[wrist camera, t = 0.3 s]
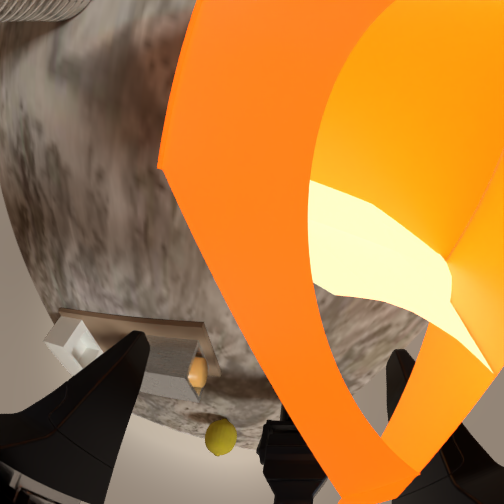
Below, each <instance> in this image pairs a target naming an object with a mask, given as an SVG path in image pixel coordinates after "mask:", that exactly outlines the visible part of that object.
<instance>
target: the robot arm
mask: <svg viewBox="0 0 504 504" xmlns="http://www.w3.org/2000/svg"><path fill="white" fill-rule="evenodd" d="M149 353H150V344H149V342H148V340H147V337H146V335H145V333H144V332H143V331H138V330H133V331H132V332H130V333H129V334H128V335H126V336H125V337H124V338H122V339H121V340H120V341H118V342H117V343H116V344H115V345H113V346H112V347H111V348H109V349H108V350H107V351H105V352H104V353H103V354H101V355H100V356H99V357H98V358H96V359H95V360H94V361H92V362H91V363H90V364H88V365H87V366H86V367H85V368H83V369H82V370H81V371H79V372H78V373H77V374H76V375H74V376H73V377H72V378H71V379H69V380H68V381H66V382H65V383H64V384H63V385H61V386H60V387H59V388H57V389H56V390H55V391H53V392H52V393H50V394H49V395H47V396H46V397H44V398H43V399H41V400H40V401H38V402H36V403H35V404H33V405H32V406H30V407H28V408H27V409H25V410H23V411H21V412H18V413H14V414H0V504H80V502H81V501H84V502H87V503H90V504H104V501H105V497H106V493H107V490H108V486H109V483H110V479H111V476H112V472H113V468H114V465H115V462H116V459H117V455H118V452H119V449H120V446H121V443H122V440H123V437H124V434H125V431H126V428H127V425H128V422H129V419H130V416H131V413H132V410H133V407H134V405H135V402H136V399H137V396H138V393H139V391H140V388H141V385H142V381H143V377H144V373H145V369H146V365H147V361H148V357H149ZM415 363H416V362H415V361H414V359H413V358H412V357H411V356H410V355H409V353H408V352H407V351H406V350H405V349H395V350H394V351H393V352H392V354H391V356H390V358H389V360H388V362H387V365H386V381H387V413H388V421H390V419H391V417H392V415H393V413H394V411H395V409H396V407H397V405H398V403H399V401H400V399H401V397H402V394H403V392H404V390H405V388H406V385H407V383H408V380H409V378H410V376H411V373H412V371H413V368H414V366H415ZM256 453H257V454H258V455H259V457H260V463H261V464H262V465H264V467H263V474H264V476H265V478H266V480H267V482H268V483H269V485H270V487H271V489H272V491H273V493H274V495H275V498H274V504H313V498H314V497H315V496H316V494H317V493H318V492H319V491H320V489H321V488H322V487H323V485H324V484H325V482H326V481H327V479H328V476H327V475H326V473H325V472H324V470H323V469H322V467H321V466H320V464H319V462H318V461H317V459H316V458H315V456H314V455H313V453H312V451H311V450H310V448H309V447H308V445H307V443H306V442H305V440H304V439H303V437H302V435H301V434H300V432H299V430H298V429H297V427H296V426H295V424H294V422H293V421H292V419H291V417H290V416H289V414H288V412H287V411H286V409H285V407H284V405H283V404H282V405H281V415H280V421H272V420H267V422H266V424H265V425H264V426H263V433H262V437H261V440H260V442H259V445H258V447H257V451H256ZM392 504H504V467H503V466H501V465H499V464H497V463H496V462H495V461H494V460H493V459H492V458H491V457H490V456H489V454H488V453H487V452H486V451H485V450H484V449H483V448H482V447H481V445H480V444H479V443H478V442H477V441H476V440H475V438H473V436H472V435H471V434H470V433H469V431H468V430H467V429H466V427H465V426H464V425H463V423H462V422H461V423H460V425H459V426H458V427H457V428H456V430H455V431H454V432H453V433H452V434H451V436H450V437H449V438H448V439H447V441H446V442H445V443H444V444H443V445H442V447H441V448H440V449H439V450H438V451H437V453H436V454H435V455H434V456H433V457H432V459H431V460H430V461H429V462H428V463H427V464H426V466H425V467H424V468H423V469H422V470H421V471H420V475H418V476H416V477H415V478H414V479H413V480H412V482H411V483H410V484H409V485H408V486H407V487H406V488H405V489H404V491H403V492H402V493H401V494H400V495H399V496H398V497H397V498H395V499H392Z"/></svg>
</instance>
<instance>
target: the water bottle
mask: <svg viewBox="0 0 504 504" xmlns="http://www.w3.org/2000/svg"><path fill="white" fill-rule="evenodd" d="M90 1H91V0H0V22H16V21H19V22H21V21H42V22H43V21H47V22H57V21H64V20H67V19H70V18H72V17H73V16H75V15H77V14H78V13H79V12H80V11H82V10H83V9H84V8H85V7H86V6H87V4H88V3H89V2H90Z"/></svg>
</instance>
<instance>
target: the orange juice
mask: <svg viewBox="0 0 504 504" xmlns="http://www.w3.org/2000/svg"><path fill="white" fill-rule="evenodd" d="M496 165H497V166H496ZM157 168H158V169H162V170H163V172H164V174H165V176H166V178H167V181H168V183H169V185H170V187H171V189H172V192H173V194H174V196H175V198H176V200H177V203H178V205H179V207H180V209H181V211H182V213H183V215H184V218H185V220H186V222H187V224H188V226H189V228H190V230H191V232H192V234H193V237H194V239H195V241H196V243H197V245H198V247H199V249H200V251H201V253H202V255H203V257H204V259H205V261H206V263H207V265H208V267H209V269H210V271H211V273H212V275H213V277H214V279H215V281H216V283H217V285H218V287H219V289H220V291H221V293H222V295H223V297H224V299H225V301H226V302H227V304H228V306H229V308H230V310H231V312H232V314H233V316H234V318H235V320H236V322H237V323H238V325H239V327H240V329H241V331H242V333H243V335H244V336H245V338H246V340H247V342H248V344H249V346H250V347H251V349H252V351H253V353H254V355H255V357H256V358H257V360H258V362H259V364H260V365H261V367H262V369H263V371H264V373H265V374H266V376H267V378H268V380H269V381H270V383H271V385H272V387H273V388H274V390H275V392H276V394H277V395H278V397H279V399H280V400H281V402H282V404H283V405H284V407H285V409H286V411H287V412H288V414H289V416H290V417H291V419H292V421H293V422H294V424H295V426H296V427H297V429H298V430H299V432H300V434H301V435H302V437H303V439H304V440H305V442H306V443H307V445H308V447H309V448H310V450H311V451H312V453H313V455H314V456H315V458H316V459H317V461H318V462H319V464H320V466H321V467H322V469H323V470H324V472H325V473H326V475H327V476H328V478H329V479H330V481H331V482H332V484H333V485H334V487H335V488H336V490H337V491H338V492H339V494H340V496H341V497H342V499H341V500H340V501H339V503H338V504H376V503H380V502H384V501H388V500H392V499H395V498H397V497H398V496H399V495H400V494H401V493H402V492H403V491H404V489H405V488H406V487H407V486H408V485H409V484H410V483H411V482H412V480H413V479H414V478H415V477H416V476H418V475H420V471H421V470H422V469H423V468H424V467H425V466H426V464H427V463H428V462H429V461H430V460H431V459H432V457H433V456H434V455H435V454H436V453H437V451H438V450H439V449H440V448H441V447H442V445H443V444H444V443H445V442H446V441H447V439H448V438H449V437H450V436H451V434H452V433H453V432H454V431H455V430H456V428H457V427H458V426H459V425H460V423H461V422H462V421H463V419H464V418H465V417H466V416H467V414H468V413H469V411H471V409H472V408H473V406H474V405H475V404H476V403H477V401H478V400H479V399H480V397H481V396H482V395H483V393H484V392H485V391H486V389H487V388H488V387H489V385H490V384H491V382H492V381H493V380H494V379H495V377H496V376H497V374H498V373H499V371H500V370H501V369H502V367H503V366H504V0H197V1H196V4H195V7H194V10H193V13H192V16H191V19H190V22H189V25H188V29H187V32H186V35H185V39H184V42H183V46H182V49H181V53H180V56H179V60H178V64H177V68H176V72H175V76H174V80H173V84H172V89H171V93H170V98H169V102H168V107H167V112H166V117H165V122H164V128H163V133H162V139H161V145H160V151H159V158H158V164H157ZM493 172H494V173H493ZM488 183H489V184H488ZM473 213H474V214H473ZM460 236H461V237H460ZM457 241H458V242H457ZM454 246H455V247H454ZM313 283H315V284H317V285H318V286H320V287H322V288H323V289H325V290H327V291H329V292H330V293H332V294H334V295H342V296H352V297H360V298H367V299H374V300H380V301H384V302H387V303H390V304H393V305H396V306H399V307H402V308H404V309H407V310H409V311H412V312H414V313H416V314H417V315H419V316H421V317H423V318H424V319H426V320H428V321H429V325H428V328H427V332H426V335H425V338H424V341H423V344H422V347H421V349H420V352H419V355H418V358H417V360H416V363H415V366H414V368H413V371H412V373H411V376H410V378H409V380H408V383H407V385H406V388H405V390H404V392H403V394H402V397H401V399H400V401H399V403H398V405H397V407H396V409H395V411H394V413H393V415H392V417H391V419H390V421H389V423H388V426H387V427H386V429H385V431H384V433H383V435H382V436H381V438H380V437H379V436H378V434H377V433H376V432H375V431H374V429H373V428H372V427H371V425H370V424H369V423H368V421H367V420H366V418H365V417H364V415H363V414H362V412H361V411H360V409H359V408H358V406H357V404H356V403H355V401H354V399H353V398H352V396H351V394H350V392H349V390H348V389H347V387H346V385H345V383H344V381H343V379H342V376H341V374H340V372H339V370H338V368H337V365H336V363H335V360H334V358H333V355H332V353H331V350H330V347H329V344H328V341H327V338H326V335H325V332H324V329H323V325H322V322H321V318H320V314H319V310H318V306H317V301H316V296H315V291H314V286H313Z"/></svg>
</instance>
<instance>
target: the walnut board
mask: <svg viewBox="0 0 504 504" xmlns="http://www.w3.org/2000/svg"><path fill="white" fill-rule="evenodd" d="M58 312H59V314H60V315H61V316H64V317H69V318H75V319H81V320H82V321H83V322H84V324H85V326H86V327H87V329H88V330H89V332H90V333H91V335H92V336H93V338H94V339H95V341H96V342H97V344H98V345H99V347H100V348H101V350H102V351H103V352H105V351H107V350H108V349H109V348H110V347H111V346H113V345H115V344H116V343H117V342H118V341H120V340H121V339H122V338H124V337H125V336H126V335H128V334H129V333H130V332H132V331H133V330H138V331H143V332H144V333H145V335H152V336H161V337H170V338H181V339H192V340H199V343H200V345H201V348H202V350H203V353H204V355H205V358H206V360H207V363H208V365H209V371H208V375H207V376H216V377H221V373H222V372H221V369H220V366H219V364H218V361H217V358H216V356H215V353H214V350H213V347H212V345H211V342H210V339H209V336H208V333H207V330H206V328H205V325H204V322H188V321H173V320H160V319H148V318H138V317H128V316H119V315H110V314H102V313H94V312H87V311H79V310H73V309H66V308H60V309H59V310H58Z"/></svg>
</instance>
